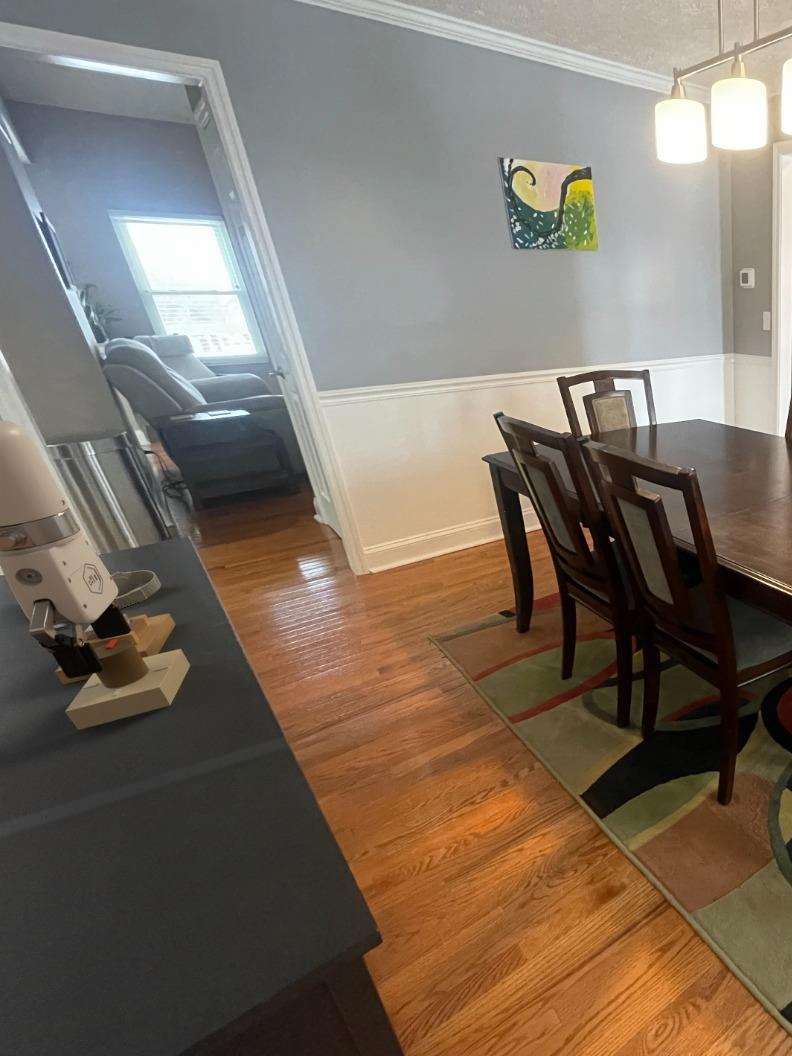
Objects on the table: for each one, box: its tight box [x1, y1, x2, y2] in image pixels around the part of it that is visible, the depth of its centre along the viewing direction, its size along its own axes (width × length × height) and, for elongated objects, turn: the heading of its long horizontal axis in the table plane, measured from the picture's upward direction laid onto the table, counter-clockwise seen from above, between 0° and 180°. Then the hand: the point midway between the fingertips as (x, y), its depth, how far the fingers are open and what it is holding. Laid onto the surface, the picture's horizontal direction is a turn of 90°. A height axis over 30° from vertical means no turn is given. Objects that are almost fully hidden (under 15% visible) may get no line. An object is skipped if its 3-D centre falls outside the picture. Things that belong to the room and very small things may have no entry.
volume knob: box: [94, 639, 149, 688], centre depth 77 cm, size 4×4×5 cm
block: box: [54, 612, 177, 685], centre depth 88 cm, size 10×12×4 cm
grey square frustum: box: [83, 613, 131, 640], centre depth 87 cm, size 4×4×2 cm
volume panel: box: [64, 648, 191, 731], centre depth 79 cm, size 9×10×3 cm
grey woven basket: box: [110, 569, 162, 610], centre depth 103 cm, size 9×6×5 cm
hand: (102, 653), depth 76 cm, fingers open, 9 cm apart
